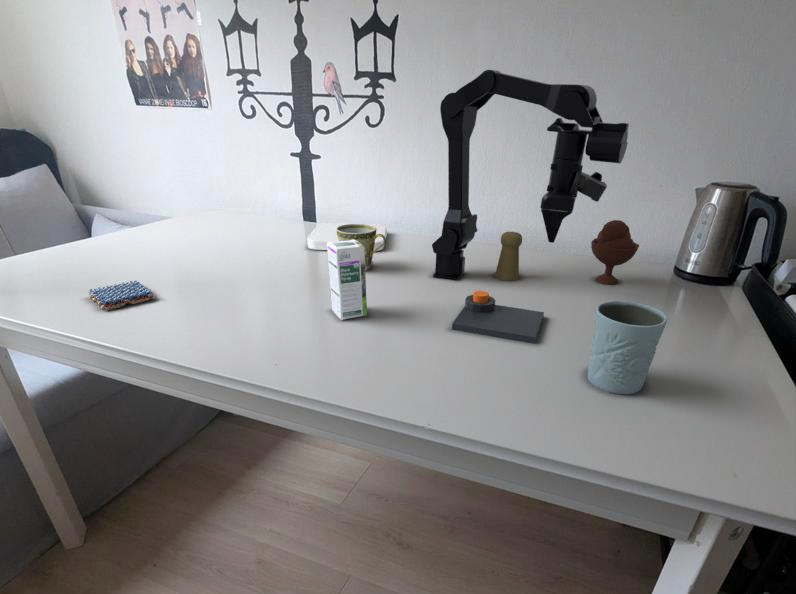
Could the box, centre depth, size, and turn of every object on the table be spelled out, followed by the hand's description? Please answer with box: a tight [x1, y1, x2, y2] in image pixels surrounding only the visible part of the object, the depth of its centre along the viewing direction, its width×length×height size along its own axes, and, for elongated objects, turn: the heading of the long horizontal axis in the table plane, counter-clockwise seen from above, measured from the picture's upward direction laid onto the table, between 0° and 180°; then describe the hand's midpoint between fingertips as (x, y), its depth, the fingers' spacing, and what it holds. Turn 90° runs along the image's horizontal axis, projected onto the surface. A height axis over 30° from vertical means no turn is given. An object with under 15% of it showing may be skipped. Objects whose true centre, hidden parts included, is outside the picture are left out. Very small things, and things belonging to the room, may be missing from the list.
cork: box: [494, 231, 523, 281], centre depth 120 cm, size 6×6×11 cm
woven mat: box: [88, 280, 156, 311], centre depth 103 cm, size 10×11×2 cm
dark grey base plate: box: [451, 294, 545, 345], centre depth 97 cm, size 16×14×3 cm
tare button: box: [472, 290, 490, 303], centre depth 101 cm, size 3×3×2 cm
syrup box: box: [326, 239, 368, 321], centre depth 97 cm, size 6×6×14 cm
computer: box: [306, 222, 388, 252], centre depth 147 cm, size 22×22×3 cm
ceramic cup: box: [336, 223, 387, 272], centre depth 123 cm, size 13×10×10 cm
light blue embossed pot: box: [587, 300, 668, 395], centre depth 76 cm, size 10×10×12 cm
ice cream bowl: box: [590, 219, 640, 286], centre depth 118 cm, size 11×11×15 cm
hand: (553, 237), depth 105 cm, fingers open, 9 cm apart
